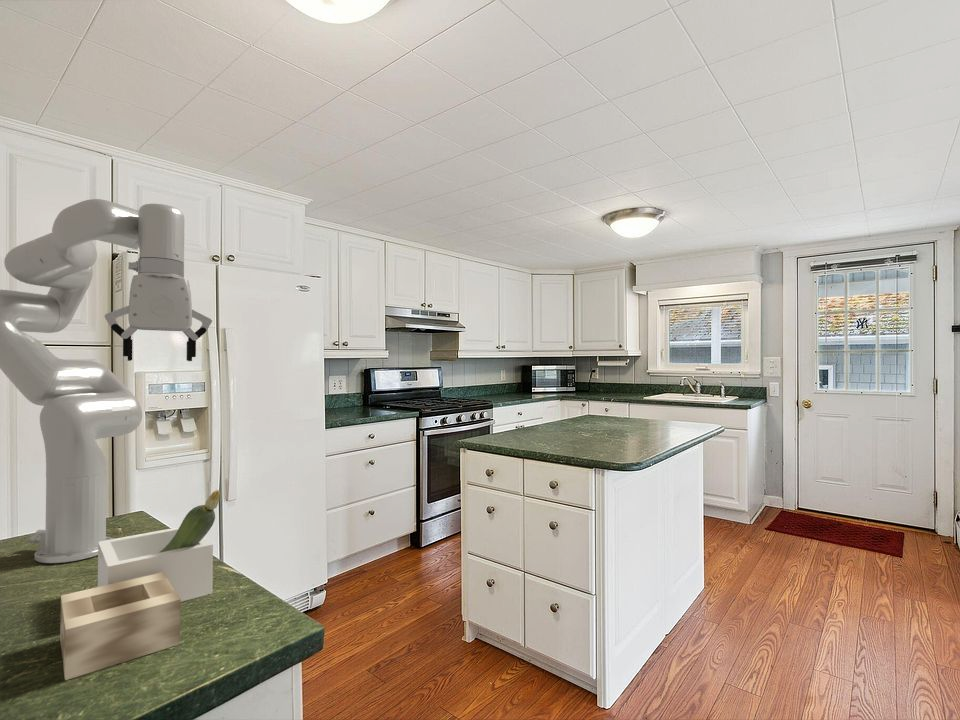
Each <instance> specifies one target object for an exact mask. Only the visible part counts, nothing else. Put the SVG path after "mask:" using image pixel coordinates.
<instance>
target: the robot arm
mask: <svg viewBox="0 0 960 720" xmlns="http://www.w3.org/2000/svg"><path fill="white" fill-rule="evenodd" d="M93 241H99V242H103V243H109V244H114V245H116V246H121V247H124V248H125V247H126V248H129V249H133V250H137V260H135V261H133V262H130V261H129V262H128V270H132V271H134V272H136V273H137V274H135V275H132V279H131V282H130V290H129V298H128V305H126V306H123V307H122V308H118V309H116V310H115V309H114V310H112V311H110V312H107V313H105V314H104V318H105V320H106V322H107V323H108V326H109V327H110V328H111V330H113V332H115V334H117V335H118V336H119V337H120V338H121V339H122V356H123V357H127V361H128V362H131V361H133V339H132V335H133V334H135V332H136V331H138V330H142V331H159V332H160V331H164V332H165V331H166V332H167V331H168V332H182V333H183V334H184V335H185V336H186V337H187V341H186V361H187V362H193V358H196V356H197V340H199V339H200V338H201V337H202V336H203V335H204V334H206V332H207V331H208V329H209V327H210V326H211V324H212V323H213V320H212V318H210V317H208V316H206V315H205V314H202V313H200V312H198V311H196V310H194V309H193V306H192V293H191V286H190V282H189V279H186V278H185V215H184V213H183V212H182V210H180V209H179V208H177V207H174V206H172V205H168V204H163V203H146V204H142V205H141V206H140V207H139V209H134V208H132V207H129V206H126V205H123V204H119V203H116V202H113V201H109V200H107V199H100V198H91V199H86V200H81V201H79V202H77V203H75V204H72V205H69V206H67V207H65V208H64V209H62V210H61V211H60V212H58V214H57V216H56V218H55V220H54V221H53V225H52V227H51V232H49V233H47V234H45V235H43V236H40V237H37V238H35V239H32V240H30V241H27V242H24V243H21V244H20V245H18V246H16V247H13V248H12V249H10V250H9V251H8V253H7V254H6V255H5V257H4V267H5V269H6V271H7V272H8V274H9V275H10V276H11V277H13V278H14V279H16V280H17V281H19V282H21V283H25V284H28V285H31V286H33V285H34V286H38V287H45V288H50V289H49V291H48V292H47V294H42V293H33V292H26V291H24V292H23V291H18V290H9V289H0V370H1V371H2V373H3V374H4V375H5V377H7V378H8V379H9V381H10V382H11V383H12V384H13V385H14V387H15V388H16V390H18V391H19V392H20V393H21V394H22V395H23V397H24V398H26V400H28V401H29V403H31V404H33V405H36V406H41V407H42V408H41V411H40V414H39V426H40V430H41V434H42V438H43V443H44V451H45V529H37V531H35V533H34V535H31V536H30V537H29V539H28V540H29V543H34V544H35V543H37V544H40V545H39V547H40V548H39V549H37V550H36V551H35V552H34V560H35V561H36V562H38V563H41V564H62V563H71V562H76V561H81V560H86V559H89V558H93V557H98V542H100V541H105V540H111V539H114V537H111V536H107V478H108V477H107V460H106V456H105V454H104V452H103V450H102V448H101V447H100V446H99V445H98V442H97V441H96V440H100V439H106V438H112V437H120V436H125V435H127V434H128V435H129V434H130V433H133V432H134V431H135V430H136V429H138V428H139V427H140V425H141V422H142V419H143V411H142V406H141V405H140V402H139V401H138V399H137V398H136V396H135V395H134V394H133V393H132V392H131V391H130V390H129V389H128V387H127V386H126V385H125V384H124V383H123V382H122V381H121V380H120V379H119V378H118V377H117V376H116V375H115V374H114V372H112V370H110V369H109V368H108V367H106V366H105V365H104V364H102V363H99V362H96V361H92V360H76V359H75V360H72V359H70V360H68V359H64V358H63V359H62V358H58V357H57V356H56V355H55V354H54V353H52V352H51V351H50V349H49V348H48V347H47V346H46V345H45V344H44V343H42V342H41V341H40V340H38V339H37V338H35V337H33V336H31V335H29V334H27V333H39V334H40V333H42V334H43V333H44V334H45V333H46V334H52V333H58V332H60V331H62V330H65V329H66V328H67V327H68V326H69V324H70V323H71V322H72V319H73V317H74V316H75V314H76V312H77V309H78V308H79V306H80V304H81V303H82V301H83V299H84V297H85V295H86V293H87V291H88V289H89V286H90V285H91V282H92V279H93V273H94V271H93V266H94V264H95V263H96V262H97V258H98V253H97V249H96V246H95V244H94V243H93ZM126 315H128V325H129V326H128V327H127V328H126V329H124V328H122V326H120V325H119V323H118V322H117V319H118V318H120V317H122V316H126ZM193 319H195V320H197V321H199V322H201V326H200V328H199V329H197V330H196V331H195V332H194V330H193V329H192V328H191V327H192V325H193ZM25 332H27V333H25Z"/></svg>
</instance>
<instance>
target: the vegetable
mask: <svg viewBox="0 0 960 720" xmlns="http://www.w3.org/2000/svg"><path fill="white" fill-rule="evenodd" d="M220 496H221V493H220V490H219V489H216V490H214V491H213V492H212V493H211V494H210V495H209V496H208V498H207V500H206V501H205V503H204V504H200V505H197V506H195V507H193V508H192V509H190V511H188V512H187V514H186V515H185V517H183V520H182V522H181V523H180V525H179V526H178V527H179V529H178V531H177V533H176V534H175V536H174V537H173V539H172V540H171V541H170V542H169V544H168V545H167V546H166V547H165V548H164V549H163V550H162V551H160V552H159V553H161V552H165V551H170V550H175V549H180V548H185V547H190V546H194V545H197V544H198V543H199V542H200V541H201V540H202V539H203V538H204V536H205V537H206V535H207V534H208V533H209V531H210V530H211V528H212V527H213V525H214V523H215V520H216V512H215V509H216V508H217V507H218V505H219V502H220Z"/></svg>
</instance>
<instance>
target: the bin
mask: <svg viewBox="0 0 960 720" xmlns="http://www.w3.org/2000/svg"><path fill="white" fill-rule="evenodd" d="M179 527H180V526H177V527H173V528H172V527H171V528H166V529H161V530H155V531H150V532H145V533H144V532H143V533H140V534H133V535H127V536H123V537H118V538H113V539H111V540H105V541H100V542H98V555H97V587H100V586H105V585H109V584H113V583H118V582H122V581H126V580H131V579H135V578H140V577H144V576H148V575H153V574H157V573H161V572H163V573H164V574H165V576H166V577H167V579H168V581H169V582H170V584H171V585H172V587H173V588H174V590H175V591H176V593H177V594H178V596H179V598H180V599H181V603H182V602H185V601H191V600H193V599H197V598H201V597H204V596H208V594H209V595H212V594H213V590H214V589H213V585H214V584H213V583H214V581H213V577H214V576H213V574H214V573H213V571H214V566H213V564H214V544H213V542H211V541H210V540H209V539H208V538H207V537H206V535H205V536H204V538H203V539H202V540H201V541H200V542H199V543H198V544H197V545H194V546H190V547H185V548H180V549H175V550H170V551H165V552H161V553H159V552H160V551H162V550H163V549H164V548H165V547H166V546H167V545H168V544H169V542H170V541H171V540H172V539H173V537H174V536H175V534H176V533H177V531H178V529H179Z"/></svg>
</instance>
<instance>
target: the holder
mask: <svg viewBox="0 0 960 720" xmlns="http://www.w3.org/2000/svg"><path fill="white" fill-rule="evenodd" d="M181 603H182V602H181V599H180V598H179V596H178V594H177V593H176V591H175V590H174V588H173V587H172V585H171V584H170V582H169V581H168V579H167V577H166V576H165V574H164V573H163V572H161V573H157V574H153V575H148V576H144V577H140V578H135V579H131V580H126V581H122V582H118V583H113V584H109V585H105V586H100V587H98V586H96V587H92V588H88V589H84V590H80V591H79V590H78V591H75V592H70V593H65V594H62V595H60V634H59V637H60V639H59V640H60V648H61V657H62V667H63V676H64V681H68V680H71V679H72V680H73V679H75V678H78V677H80V676H84V675H88V674H90V673H91V674H92V673H94V672H96V671H100V670H102V669H106V668H109V667H110V668H111V667H112V666H115V665H119V664H122V663H125V662H128V661H131V660H134V659H138V658H141V657H144V656H148V655H150V654H154V653H157V652H160V651H163V650H166V649H169V648H172V647H176V646H179V645H181V610H182V609H181V607H182V606H181Z"/></svg>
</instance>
